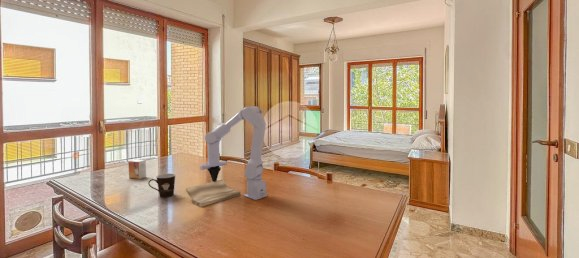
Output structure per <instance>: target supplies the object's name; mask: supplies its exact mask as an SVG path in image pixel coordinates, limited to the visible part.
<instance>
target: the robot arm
mask: <svg viewBox="0 0 579 258" xmlns="http://www.w3.org/2000/svg"><path fill="white" fill-rule="evenodd" d="M263 113H264V111H263V110H261V108H260V107H259V106H256V105H254V106H244V108H242V109H240V110H238V112H237V113H236V114H235V115H234V116H233V117H231V118H230V119H228V121H227V122H220V123H219V124H218V126H216V128H213V129H212V130H211V131H208V132H207V133H206V134H205V136H204V140H205V142H206V144H207V163H206V164H201V165H200V166H199V168H200V170H201V171H203V170H207V171H208V173H209V175H210V178H211V182H215V181H218V180H217V179H218V176H219V173H220V171H221V169H222V168H221V167H222V166H227V165H228V162H227V161H226V160H223V161H220V143H221V142H220V141H222V138H224V137H225V136H227V135H228V134H229V133H230V132H231V129H232V128H233V127H234V126H236V125H237V124H239V123H240V122H241V121H243V120H245V121H247V122H248V123H250V124H251V125H252V126H253V135H252V142H251V149H250V158H249V160H248V162H247V164H246V167H245V168H244V172H243V173H244V176H245V178H246V193H244V194H243V196H244V197H246V198H249V199H251V200H253V201H257V200H259V199H260V200H261V199H262V198H266V197H268V194H267V182H266V181H265V180H263V179H262V177H263V176H262V174H263V173H264V166H263V165H264V164H263V163H264V162H263V160H262V154H263V147H264V141H265V134H266V133H265V132H266V125H267V124H266V121H265V118H264V115H263Z"/></svg>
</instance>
